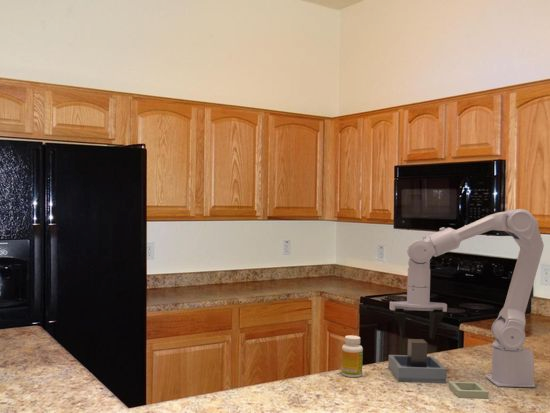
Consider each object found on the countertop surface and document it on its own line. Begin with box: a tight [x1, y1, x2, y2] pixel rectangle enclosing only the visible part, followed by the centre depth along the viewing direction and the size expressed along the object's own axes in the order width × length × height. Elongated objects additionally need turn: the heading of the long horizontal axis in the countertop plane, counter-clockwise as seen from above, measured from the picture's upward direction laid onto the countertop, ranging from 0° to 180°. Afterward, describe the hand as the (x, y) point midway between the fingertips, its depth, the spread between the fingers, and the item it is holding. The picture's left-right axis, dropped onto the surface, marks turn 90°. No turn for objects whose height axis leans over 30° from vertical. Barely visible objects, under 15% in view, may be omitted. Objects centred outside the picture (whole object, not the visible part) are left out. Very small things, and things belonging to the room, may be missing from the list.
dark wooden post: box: [407, 338, 428, 367], centre depth 143 cm, size 4×4×8 cm
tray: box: [387, 354, 447, 384], centre depth 144 cm, size 12×12×4 cm
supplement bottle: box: [340, 334, 364, 378], centre depth 143 cm, size 5×5×10 cm
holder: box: [448, 380, 490, 399], centre depth 131 cm, size 7×7×2 cm
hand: (417, 338), depth 144 cm, fingers open, 7 cm apart
